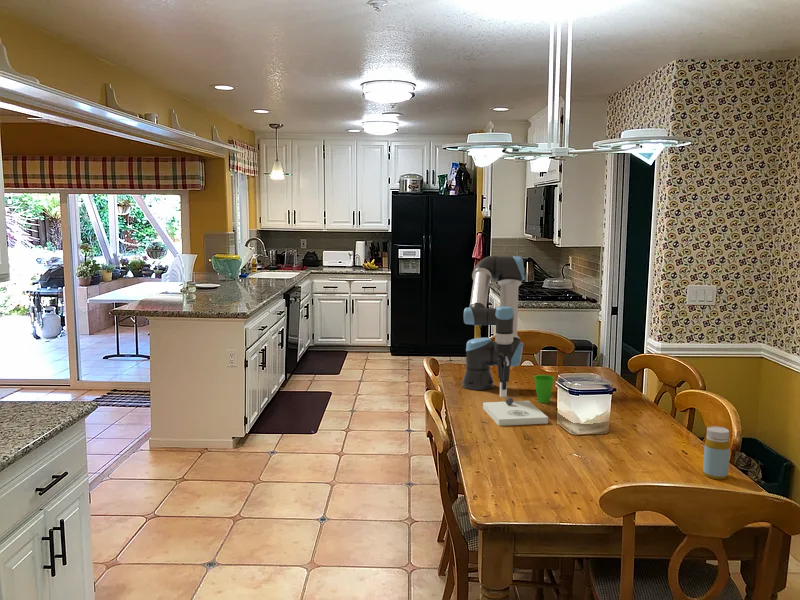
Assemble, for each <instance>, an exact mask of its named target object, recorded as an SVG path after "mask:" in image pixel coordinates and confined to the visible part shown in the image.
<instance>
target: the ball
mask: <svg viewBox="0 0 800 600" xmlns="http://www.w3.org/2000/svg"><path fill="white" fill-rule="evenodd" d="M513 401H514V399H513V398H512V397H508V396H507V398H506V397H505V402H506V404H508V405H511V404H512V403H513Z"/></svg>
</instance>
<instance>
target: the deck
mask: <svg viewBox="0 0 800 600" xmlns="http://www.w3.org/2000/svg"><path fill="white" fill-rule="evenodd" d="M482 409H483V410H484V412H486V413H487V414H488V416H489V417H490V418H491V419H492V420H493V421H494V422H495V423H496V425H498V426H500V427H502V426H521V425H522V426H525V425H539V424H540V425H543V424H549V416H547V415H546V414H545V413H544V412H543V411H542V410H540V409H539V408H538V407H536V406H535V405H534V404H533V403H532V402H531V401H529V400H513V403H512V404H511V405H508V404H506V401H488V402H487V401H486V402H482Z"/></svg>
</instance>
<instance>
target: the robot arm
mask: <svg viewBox="0 0 800 600" xmlns="http://www.w3.org/2000/svg"><path fill="white" fill-rule="evenodd" d="M524 267H525V266H524V260H523V258H522V257H521V256H515V255H489V256H486V257H484V258H482V259H481V260H480V261H478V263H477V264H476V265H475V266H474V268H473V270H472V272H471V278H472V281H473V282H472V287H471V296H470V301H469V302H470V303H469V307H465V308H464V310H463V323H464V324H465V325H472V326H474V325H476V326H495V335H493V338H495V339H494V341H492V339H491V337H476V338H472V339H469V340H467V342H466V345H465V347H466V348H465V355H466V356H465V357H466V358H465V359H466V361H465V373H464V376H463V378H462V384H461V386H462V388H464V389H467V390H471V391H472V390H473V391H474V390H475V391H486V390H491V389H494V387H495V382H494V377H493V375H492V372H491V366H495V367H497V376H498V377H497V378H498V379H499V397H500V398H506V397H507V398H508V382H510V372H511V371H510V370H511V367H518V366H520V365H521V361H522V355H523V347H524V342H522V341H521V337H519V336H518V319H519V318H518V315H519V311H518V310H519V287H520V286H522V281H525V278H526V276H525V268H524ZM492 280H493V281H494V280H495V281H497V284H498V285H499V286H500V294H499V306H497V307H494V308H493V307H491V308H490V307H487V304H488V296H489V287H490V282H491V281H492Z"/></svg>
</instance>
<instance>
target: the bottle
mask: <svg viewBox="0 0 800 600" xmlns="http://www.w3.org/2000/svg"><path fill="white" fill-rule="evenodd" d="M729 437H730V430H729V429H728V428H725V427H723V426H714V425H712V426H708V427H707V428H706V438H705V441H704V450H703V452H704V453H703V466H702V470H703V475H704V476H705V477H707V478H709V479H712V480H717V481H718V480H719V481H720V480H726V479H727V478H728V476H729V467H730V466H729V465H730V464H729V463H730V450H731V447H730V446H731V445H730V443H729V441H730V440H729Z"/></svg>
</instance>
